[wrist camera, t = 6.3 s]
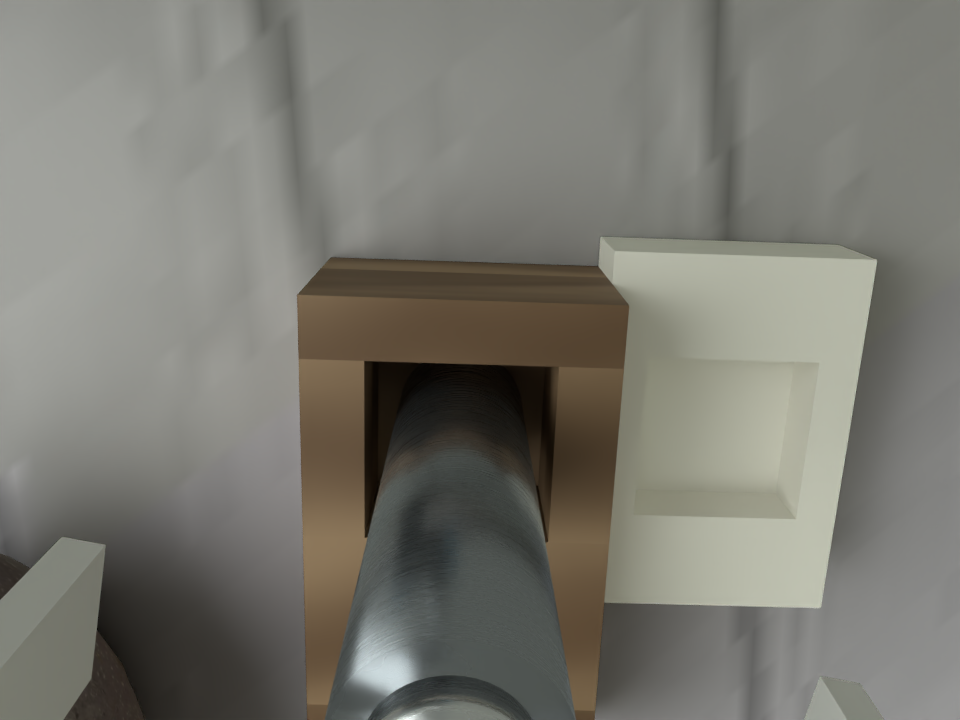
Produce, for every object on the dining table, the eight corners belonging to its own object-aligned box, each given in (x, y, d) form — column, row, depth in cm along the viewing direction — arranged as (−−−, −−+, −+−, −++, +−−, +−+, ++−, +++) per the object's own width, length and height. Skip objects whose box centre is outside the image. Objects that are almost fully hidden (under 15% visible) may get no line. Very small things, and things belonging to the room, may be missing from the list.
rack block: (600, 236, 29) (614, 251, 26) (837, 244, 30) (877, 259, 27) (576, 558, 33) (587, 602, 30) (789, 564, 33) (820, 608, 30)
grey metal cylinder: (400, 347, 28) (308, 670, 12) (524, 351, 28) (596, 677, 12) (399, 462, 29) (313, 898, 13) (518, 466, 29) (577, 902, 13)
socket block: (331, 257, 29) (297, 294, 24) (598, 266, 30) (629, 305, 24) (336, 712, 34) (310, 834, 29) (565, 717, 35) (584, 839, 29)
